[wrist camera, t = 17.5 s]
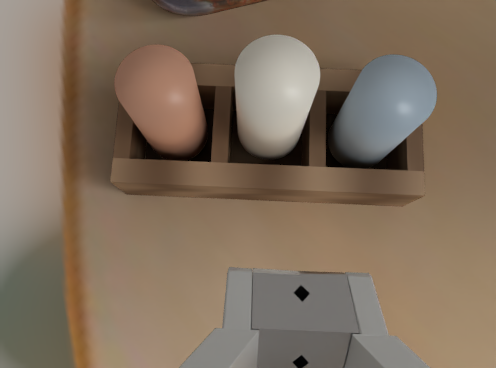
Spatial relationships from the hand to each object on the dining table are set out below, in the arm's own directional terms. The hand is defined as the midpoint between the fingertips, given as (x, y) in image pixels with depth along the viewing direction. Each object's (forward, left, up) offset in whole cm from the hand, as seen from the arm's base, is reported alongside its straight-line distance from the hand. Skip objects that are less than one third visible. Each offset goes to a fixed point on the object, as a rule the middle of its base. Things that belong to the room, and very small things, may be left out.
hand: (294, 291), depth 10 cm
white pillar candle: (-7, -6, -17) cm, 20 cm away
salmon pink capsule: (-4, -11, -19) cm, 22 cm away
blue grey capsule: (-11, -2, -19) cm, 22 cm away
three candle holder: (-7, -6, -21) cm, 23 cm away
